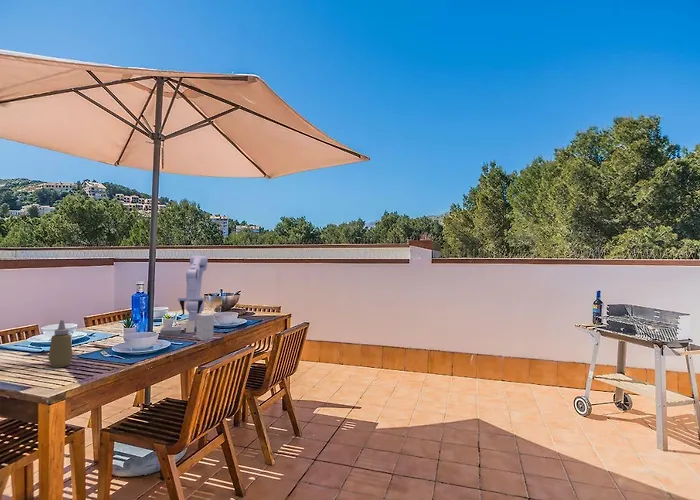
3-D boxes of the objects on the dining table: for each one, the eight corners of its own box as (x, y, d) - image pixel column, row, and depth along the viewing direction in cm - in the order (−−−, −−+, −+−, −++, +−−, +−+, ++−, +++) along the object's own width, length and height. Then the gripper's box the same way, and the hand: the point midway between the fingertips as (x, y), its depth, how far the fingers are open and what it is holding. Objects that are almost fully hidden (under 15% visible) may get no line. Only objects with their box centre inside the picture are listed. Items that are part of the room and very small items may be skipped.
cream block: (186, 331, 259) (186, 320, 259) (194, 330, 260) (194, 320, 260) (185, 332, 255) (186, 321, 255) (194, 332, 256) (194, 321, 256)
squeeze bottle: (45, 369, 173) (47, 322, 173) (50, 364, 180) (52, 319, 180) (70, 368, 176) (72, 321, 176) (73, 362, 183) (75, 318, 183)
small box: (213, 339, 239) (214, 314, 239) (201, 340, 235) (202, 315, 235) (207, 336, 245) (208, 312, 245) (195, 337, 241) (196, 313, 241)
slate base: (161, 331, 254) (162, 327, 254) (180, 331, 257) (181, 327, 257) (160, 335, 244) (160, 330, 244) (179, 334, 247) (179, 330, 247)
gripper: (177, 290, 251) (176, 315, 251) (205, 290, 256) (204, 314, 255) (178, 289, 258) (177, 313, 257) (205, 290, 262) (204, 313, 262)
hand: (190, 314), depth 257 cm, fingers open, 7 cm apart
